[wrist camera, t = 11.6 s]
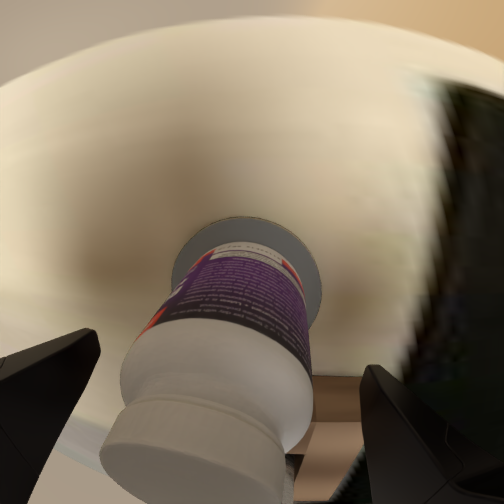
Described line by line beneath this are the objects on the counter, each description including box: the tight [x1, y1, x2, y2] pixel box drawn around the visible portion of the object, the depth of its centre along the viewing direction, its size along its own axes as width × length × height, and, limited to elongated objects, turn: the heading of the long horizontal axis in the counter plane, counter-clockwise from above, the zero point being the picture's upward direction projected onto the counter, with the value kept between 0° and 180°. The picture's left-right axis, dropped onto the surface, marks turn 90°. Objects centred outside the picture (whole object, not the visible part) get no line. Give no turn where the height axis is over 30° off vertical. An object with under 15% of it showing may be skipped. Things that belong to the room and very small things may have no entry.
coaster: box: [172, 217, 322, 329], centre depth 14 cm, size 7×7×1 cm
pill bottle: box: [99, 242, 313, 504], centre depth 9 cm, size 5×5×10 cm
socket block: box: [286, 376, 364, 501], centre depth 16 cm, size 10×10×4 cm
